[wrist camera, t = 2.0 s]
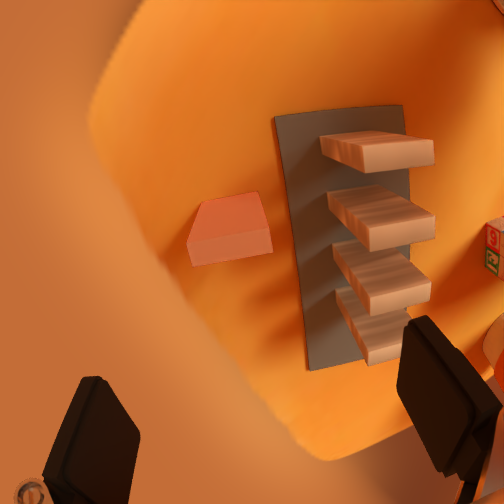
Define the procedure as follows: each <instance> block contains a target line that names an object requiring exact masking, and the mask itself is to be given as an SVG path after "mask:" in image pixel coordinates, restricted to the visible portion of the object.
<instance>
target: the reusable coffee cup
mask: <svg viewBox="0 0 504 504" xmlns="http://www.w3.org/2000/svg"><path fill="white" fill-rule="evenodd" d="M482 348H483V352H484V354H485V356H486V357H487V359H488V361H489V362H490V364H491V366H492V367H493V369H494V376H495V378H496V380H497V381H498V383H499V385H500V387H501V388H502V391H503V393H504V313H503V314H502V315H501V316H500V317H498V319H497V320H496V321H495V322H494V323H493V324H492V326H491V327H490V329H489V330H488V332H487V334H486V336H485V339H484V342H483V347H482Z"/></svg>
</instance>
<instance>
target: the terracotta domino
mask: <svg viewBox="0 0 504 504" xmlns="http://www.w3.org/2000/svg"><path fill="white" fill-rule="evenodd" d="M186 245H187V249H188V253H189V256H190V260H191V264H192V267H197V266H203V265H208V264H214V263H219V262H225V261H230V260H235V259H241V258H246V257H252V256H257V255H262V254H268V253H273V247H272V241H271V235H270V229H269V225H268V222H267V219H266V216H265V213H264V209H263V206H262V203H261V200H260V197H259V194H258V191H256V192H250V193H245V194H240V195H234V196H229V197H224V198H219V199H214V200H209V201H204V202H202V203H201V205H200V208H199V210H198V213H197V216H196V218H195V221H194V223H193V226H192V229H191V231H190V234H189V237H188V239H187V242H186Z"/></svg>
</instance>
